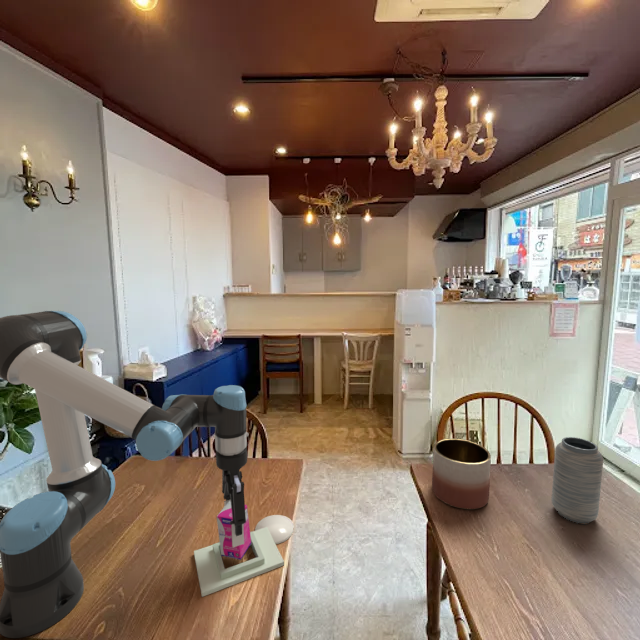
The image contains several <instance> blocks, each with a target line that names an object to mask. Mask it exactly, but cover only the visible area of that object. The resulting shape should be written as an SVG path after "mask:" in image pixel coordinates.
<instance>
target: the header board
mask: <svg viewBox="0 0 640 640" xmlns="http://www.w3.org/2000/svg"><path fill="white" fill-rule="evenodd" d="M250 536H251V545H250V548H251V550H252V552H253V554H254V556H255V557H254V558H251V559H249V560H246V561H244V562H240V563H239V564H236V565H233V566H229V567H227V568H225V565H224V561H223V558H222V557H223V556H221V549H220V541H219V542H216V543H213V544H212V545H208V546H205V547H202V548H199V549H195V550H193V556H194V561H195V562H194V563H195V567H196V572H197V573H196V574H197V577H198V583H199V588H200V593H201V597H203V598H204V597H205V596H209V595H210V594H214V593H216V592H219V591H222V590H224V589H227V588H229V587H231V586H235V585H237V584H239V583H241V582H244V581H247V580H249V579H252V578H254V577H255V578H256V577H257V576H260V575H262V574H265V573H268V572H270V571H272V570H275V569H278V568H280V567H283V566H285V560H284V558H283V556H282V554H281V553H280V550H279V549H278V547H277V544H275V542H274V540H273V538H272V536H271V534H270V532H269V530H268V528H267V527H265V528H262V529H259V530H256V531H255V530H252V531H250Z"/></svg>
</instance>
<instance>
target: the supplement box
mask: <svg viewBox="0 0 640 640" xmlns="http://www.w3.org/2000/svg"><path fill="white" fill-rule="evenodd" d="M248 513H249V512H248V505H247V504H245V516H246V523H244V524H243V525H244V544H242V545H239V546H236V547H233V546H232V525H230V521H232V520H233V518H232V509H231V502H228V503H227V504H226V505H225V506H223V508H222V509H221V511H220V512H218V514H217V515H216V523H217V530H218V531H217V532H218V538H219V539H218V540H219V542H220V549H221V553H220V554H221V557H224V558H225V557H226V558H231V559H235V560H239V561H241V560H242V558H244V556H245V554H246V553H247V551H248V549H249V548H250V547H251V536H250V532H251V530H250V528H251V527H250V521H249V514H248Z"/></svg>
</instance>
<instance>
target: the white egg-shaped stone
mask: <svg viewBox="0 0 640 640" xmlns="http://www.w3.org/2000/svg"><path fill="white" fill-rule="evenodd" d="M265 527H267V528H268V530H269V532H270V534H271V536H272V538H273V540H274V542H275V544H276V545H278V544H282V543H285V542H286V541H287V540H289V539H290V538H291V537H292V535H293V534H292V533H294V532H295V531H294V530H295V527H294V522H293V520H291V518H289V517H288V516H285V515H283V514H273V515H268V516H265V517H264V518H262V519H260V520H259V521H258V522H257V524H256V525H255V527H254V531H256V530H259V529H262V528H265ZM293 528H294V530H293Z"/></svg>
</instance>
